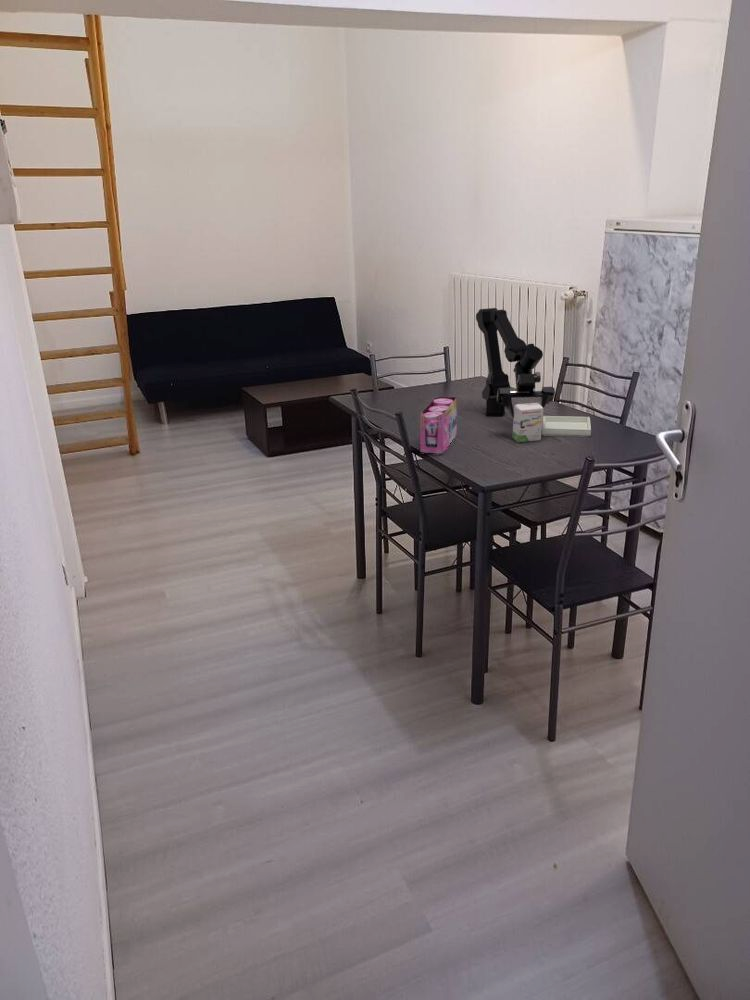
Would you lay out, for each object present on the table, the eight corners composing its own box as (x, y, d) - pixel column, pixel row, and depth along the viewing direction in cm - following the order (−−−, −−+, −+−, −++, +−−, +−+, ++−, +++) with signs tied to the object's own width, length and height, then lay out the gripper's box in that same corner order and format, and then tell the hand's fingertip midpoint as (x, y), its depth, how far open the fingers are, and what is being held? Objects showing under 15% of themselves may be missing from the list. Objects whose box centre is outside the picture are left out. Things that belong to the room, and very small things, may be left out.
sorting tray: (541, 435, 258) (542, 428, 257) (543, 422, 272) (543, 415, 271) (590, 436, 254) (591, 429, 253) (589, 423, 269) (589, 416, 268)
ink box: (517, 443, 251) (519, 409, 246) (511, 437, 256) (514, 404, 250) (541, 440, 253) (544, 407, 247) (535, 434, 257) (538, 402, 252)
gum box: (442, 456, 242) (442, 415, 237) (418, 455, 244) (417, 414, 239) (457, 435, 263) (457, 396, 258) (435, 434, 265) (434, 396, 260)
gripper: (498, 364, 251) (501, 405, 245) (555, 362, 250) (559, 403, 244) (495, 382, 261) (498, 422, 255) (550, 381, 260) (554, 420, 254)
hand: (527, 416), depth 251 cm, fingers open, 9 cm apart
